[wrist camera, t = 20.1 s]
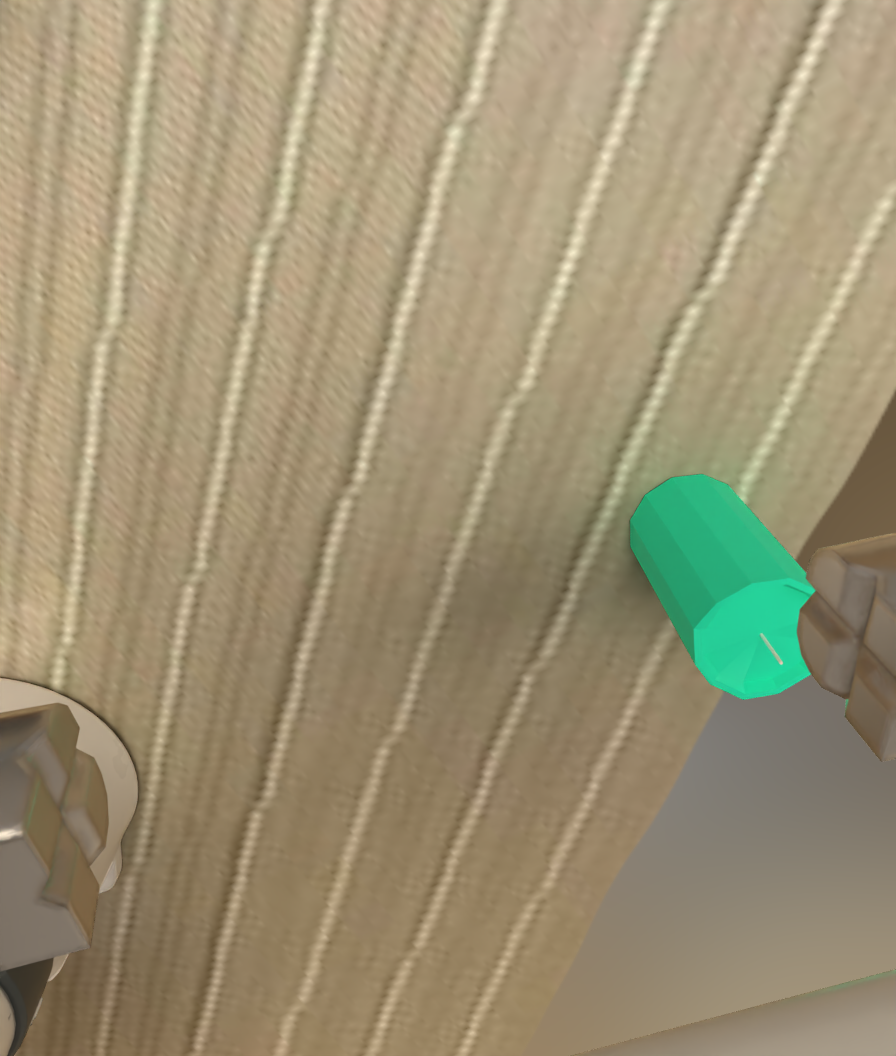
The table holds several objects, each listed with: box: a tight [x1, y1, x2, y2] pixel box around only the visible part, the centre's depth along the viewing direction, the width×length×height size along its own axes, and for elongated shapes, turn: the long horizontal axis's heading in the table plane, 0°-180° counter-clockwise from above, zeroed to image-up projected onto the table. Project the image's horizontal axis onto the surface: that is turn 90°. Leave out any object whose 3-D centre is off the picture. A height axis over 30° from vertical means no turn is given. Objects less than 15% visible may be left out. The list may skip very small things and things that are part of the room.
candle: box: [630, 474, 815, 700], centre depth 39 cm, size 6×6×12 cm
